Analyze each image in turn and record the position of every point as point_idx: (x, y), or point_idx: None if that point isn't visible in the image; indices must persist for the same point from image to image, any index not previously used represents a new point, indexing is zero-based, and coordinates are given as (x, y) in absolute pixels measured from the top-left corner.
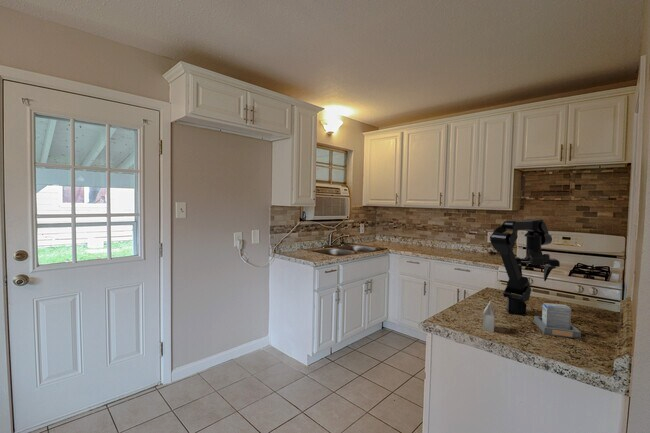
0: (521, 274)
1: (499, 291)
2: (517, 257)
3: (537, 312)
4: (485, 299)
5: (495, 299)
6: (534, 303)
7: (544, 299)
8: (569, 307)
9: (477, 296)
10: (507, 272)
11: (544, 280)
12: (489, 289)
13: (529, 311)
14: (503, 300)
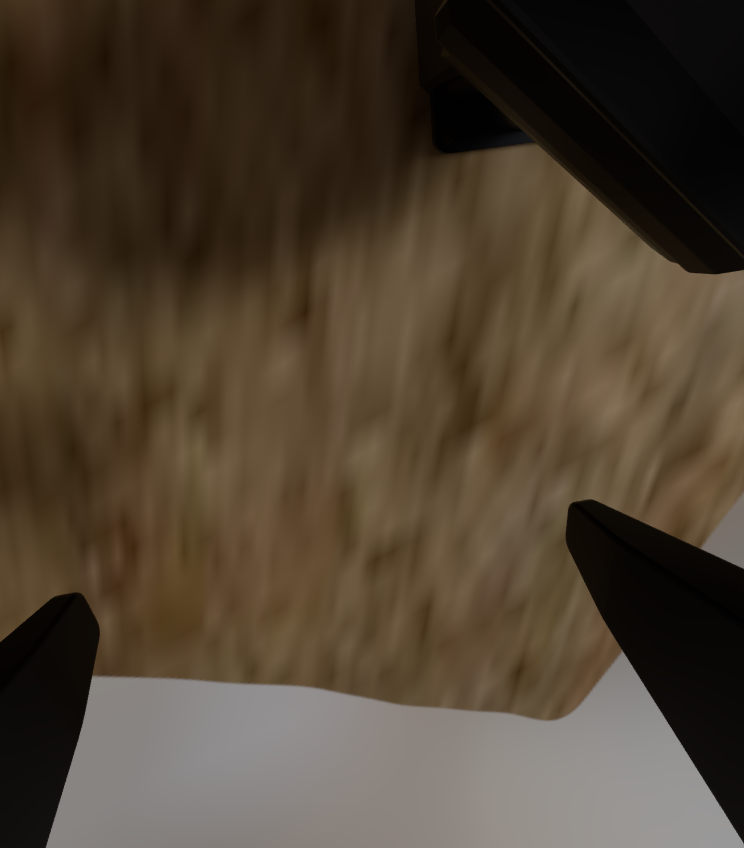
0: (686, 573)
1: (512, 690)
2: None
3: (268, 198)
4: (700, 416)
5: (605, 464)
6: (281, 521)
7: (198, 670)
8: None
9: (740, 474)
10: None
11: (81, 611)
12: (574, 698)
13: (351, 192)
14: (540, 470)
